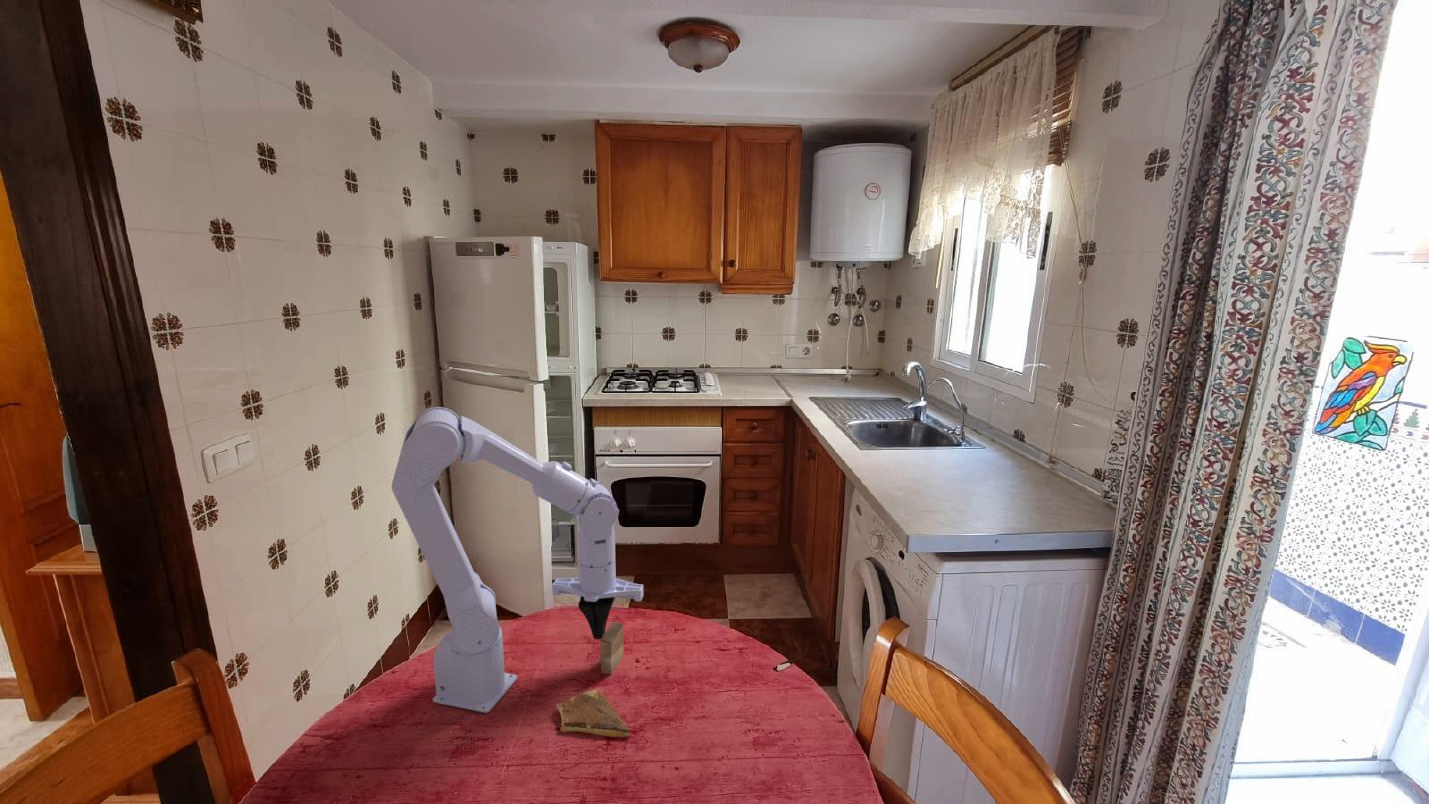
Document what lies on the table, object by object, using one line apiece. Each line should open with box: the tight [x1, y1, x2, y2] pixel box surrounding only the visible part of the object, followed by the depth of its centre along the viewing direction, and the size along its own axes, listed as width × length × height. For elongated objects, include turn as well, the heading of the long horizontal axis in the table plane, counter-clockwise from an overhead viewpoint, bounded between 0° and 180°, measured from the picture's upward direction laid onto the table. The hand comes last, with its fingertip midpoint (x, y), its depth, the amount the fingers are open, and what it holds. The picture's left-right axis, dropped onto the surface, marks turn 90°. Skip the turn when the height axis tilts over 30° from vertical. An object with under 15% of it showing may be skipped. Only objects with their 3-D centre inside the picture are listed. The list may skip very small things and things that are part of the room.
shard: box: [555, 689, 632, 738], centre depth 81 cm, size 11×8×2 cm
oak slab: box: [599, 621, 624, 675], centre depth 94 cm, size 2×5×6 cm, turn 167°
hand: (599, 635), depth 94 cm, fingers closed
